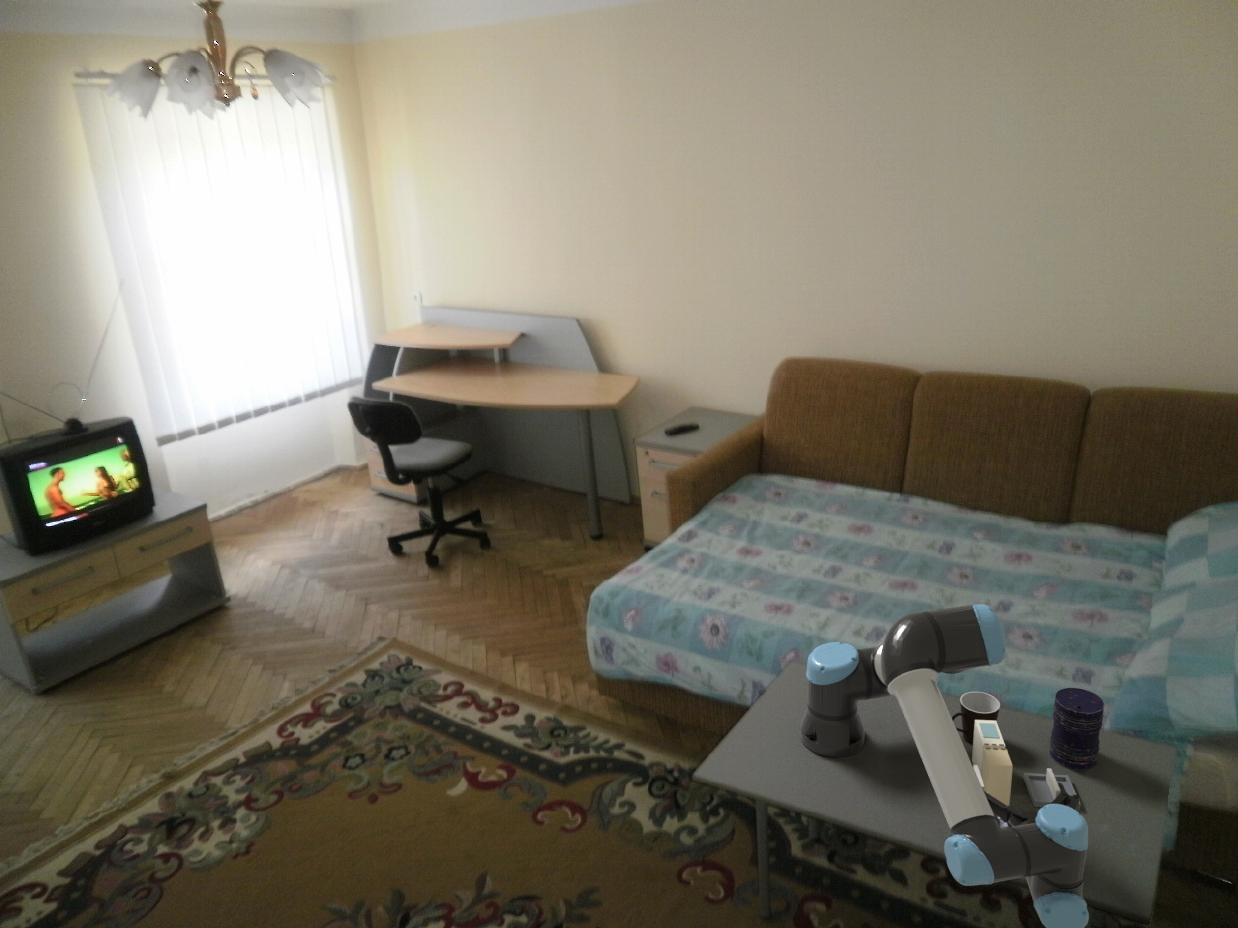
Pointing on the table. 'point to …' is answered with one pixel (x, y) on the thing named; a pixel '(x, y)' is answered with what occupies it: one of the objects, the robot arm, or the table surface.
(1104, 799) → the table surface
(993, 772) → the cream rectangular block
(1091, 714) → the storage jar
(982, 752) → the cream box with panel
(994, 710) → the coffee mug
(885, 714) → the table surface
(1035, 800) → the tray
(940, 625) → the robot arm
